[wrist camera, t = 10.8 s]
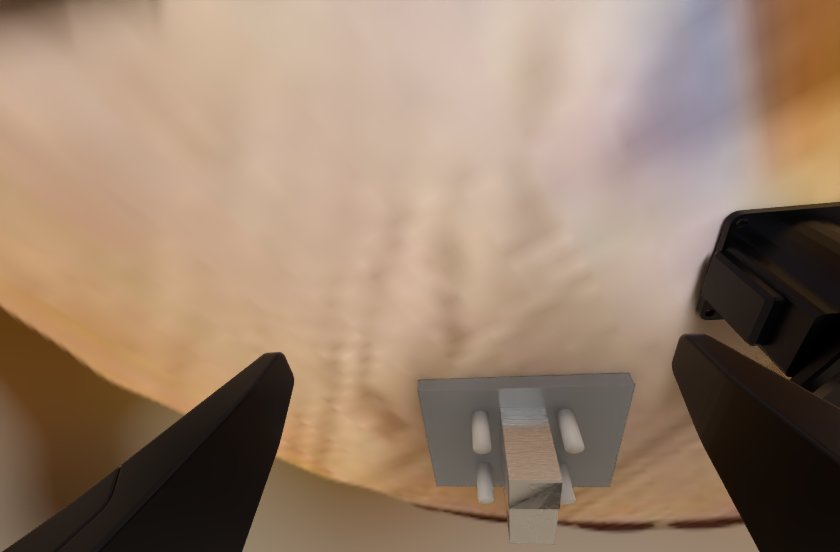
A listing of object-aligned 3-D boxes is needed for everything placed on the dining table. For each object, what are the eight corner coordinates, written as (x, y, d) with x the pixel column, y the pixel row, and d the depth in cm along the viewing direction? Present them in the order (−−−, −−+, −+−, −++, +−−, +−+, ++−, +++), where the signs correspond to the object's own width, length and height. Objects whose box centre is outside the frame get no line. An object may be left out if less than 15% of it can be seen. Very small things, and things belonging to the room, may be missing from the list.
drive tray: (629, 372, 25) (652, 418, 22) (605, 474, 31) (621, 520, 28) (418, 379, 27) (414, 422, 24) (437, 474, 33) (435, 517, 30)
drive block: (545, 407, 26) (562, 479, 22) (540, 472, 30) (554, 544, 26) (500, 408, 26) (508, 480, 22) (501, 473, 30) (509, 543, 26)
